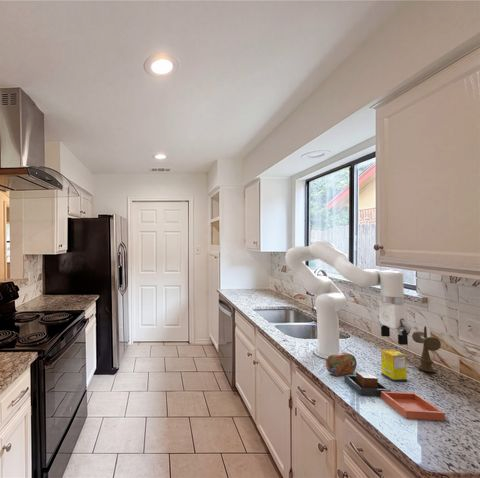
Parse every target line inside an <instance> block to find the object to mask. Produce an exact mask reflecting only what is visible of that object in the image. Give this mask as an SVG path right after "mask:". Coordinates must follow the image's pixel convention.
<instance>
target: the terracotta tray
mask: <svg viewBox="0 0 480 478" xmlns="http://www.w3.org/2000/svg"><path fill="white" fill-rule="evenodd" d="M380 399H382V400H383V401H384V402H386V404H388V405H389V406H390V407H392V408H393V409H394V410H395V411H396V412H397V413H399V414H400V415H401V416H402V417H404V418H405V419H408V420H409V419H410V420H424V421H425V420H426V421H427V420H428V421H442V422H443V421H444V422H445V421H446V413H445V412H444V411H443V410H441V409H439V408H438V407H436V406H435V405H433V404H432V403H431V402H429V401H428V400H426V399H425V398H423V397H422V396H420V395H419V394H418V393H416V392H405V391H404V392H403V391H391V392H387V391H381V396H380Z"/></svg>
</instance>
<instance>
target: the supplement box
mask: <svg viewBox="0 0 480 478" xmlns="http://www.w3.org/2000/svg"><path fill="white" fill-rule="evenodd" d="M380 360H381V362H380V364H381V365H380V366H381V376H383V377H385V378H387V379H389V380H391V381H393V382H405V381H406V382H407V380H408V378H407V377H408V376H407V375H408V374H407V354H405V353H403V352H401V351H398V350H396V349H380Z"/></svg>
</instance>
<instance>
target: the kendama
mask: <svg viewBox="0 0 480 478" xmlns="http://www.w3.org/2000/svg"><path fill="white" fill-rule="evenodd" d="M411 338H412V340H413V342H415V343H418V344H423V346H422V353H421V356H420V357H419V358H418V360H419V361H420V364H419V365H418V366H417V368H418V369H419V370H420V371H423V372H426V373H435V369H434V368H433V365H432V364H433V363H434V361H433V360H432V359H431V355H430V352H429V351H432V352H435V351H439V350H440V349H441V347H442V344H441V340H440V339H439V338H437V337H435V336H428V331H427V325H424V326H423V331H422V330H421V331H420V330H416V331H414V332H413V333H412V334H411Z"/></svg>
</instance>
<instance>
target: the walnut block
mask: <svg viewBox="0 0 480 478" xmlns="http://www.w3.org/2000/svg"><path fill="white" fill-rule="evenodd" d="M355 375H356V384H357V385H359V386H360V387H361V388H373V389H378V381H379V378H378V377H376V376H375V375H374V374H373V373H371V372H370V371H355Z"/></svg>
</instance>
